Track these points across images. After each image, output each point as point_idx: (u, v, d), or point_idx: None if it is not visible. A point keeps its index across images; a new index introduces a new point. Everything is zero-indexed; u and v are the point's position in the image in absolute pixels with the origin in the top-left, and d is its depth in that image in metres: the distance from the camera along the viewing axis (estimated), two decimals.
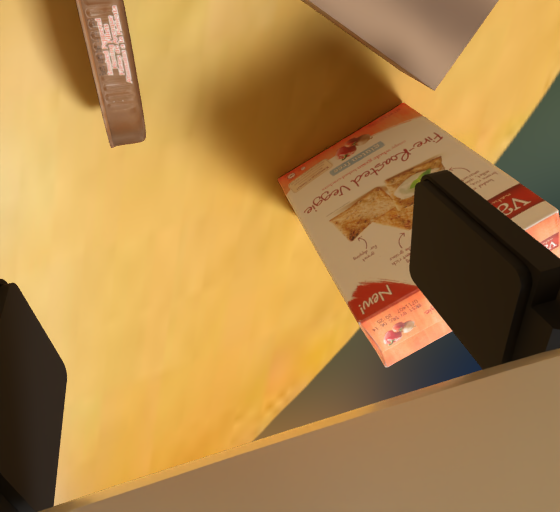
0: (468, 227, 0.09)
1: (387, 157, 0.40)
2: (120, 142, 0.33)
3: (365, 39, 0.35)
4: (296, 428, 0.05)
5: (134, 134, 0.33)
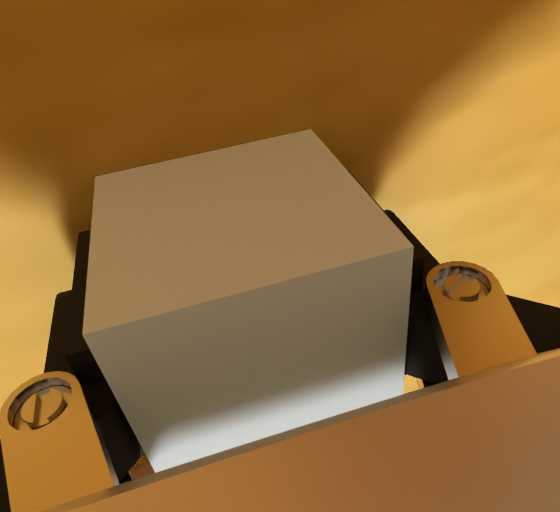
0: None
1: None
2: None
3: None
4: (296, 428, 0.05)
5: None
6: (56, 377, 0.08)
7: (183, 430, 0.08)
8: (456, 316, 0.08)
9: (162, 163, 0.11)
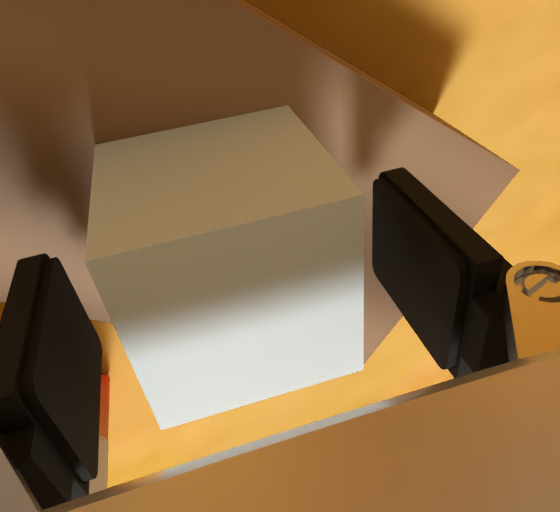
0: (416, 222, 0.10)
1: None
2: None
3: None
4: (296, 428, 0.05)
5: None
6: None
7: (170, 358, 0.10)
8: (530, 314, 0.08)
9: (154, 133, 0.12)
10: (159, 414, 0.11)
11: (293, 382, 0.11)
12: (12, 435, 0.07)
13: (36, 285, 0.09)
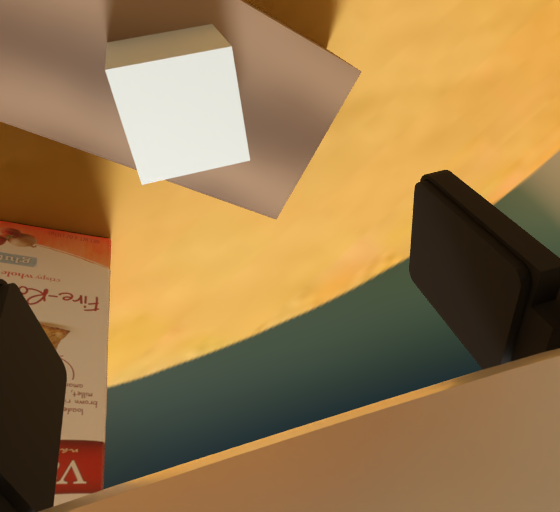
0: (468, 227, 0.09)
1: (18, 283, 0.27)
2: None
3: None
4: (296, 428, 0.05)
5: None
6: None
7: (144, 134, 0.20)
8: None
9: (138, 37, 0.22)
10: (140, 172, 0.21)
11: (211, 162, 0.22)
12: None
13: None
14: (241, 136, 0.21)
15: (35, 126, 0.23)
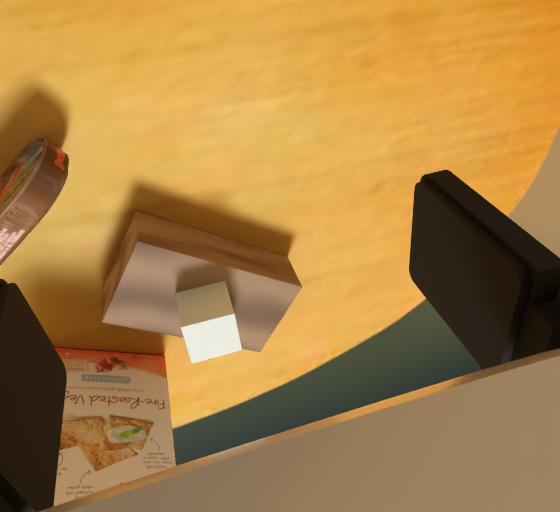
0: (468, 227, 0.09)
1: (124, 395, 0.52)
2: None
3: None
4: (296, 428, 0.05)
5: None
6: None
7: (195, 345, 0.45)
8: None
9: (190, 289, 0.47)
10: (191, 359, 0.46)
11: (223, 352, 0.47)
12: None
13: None
14: (238, 342, 0.46)
15: (141, 326, 0.49)
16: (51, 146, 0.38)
